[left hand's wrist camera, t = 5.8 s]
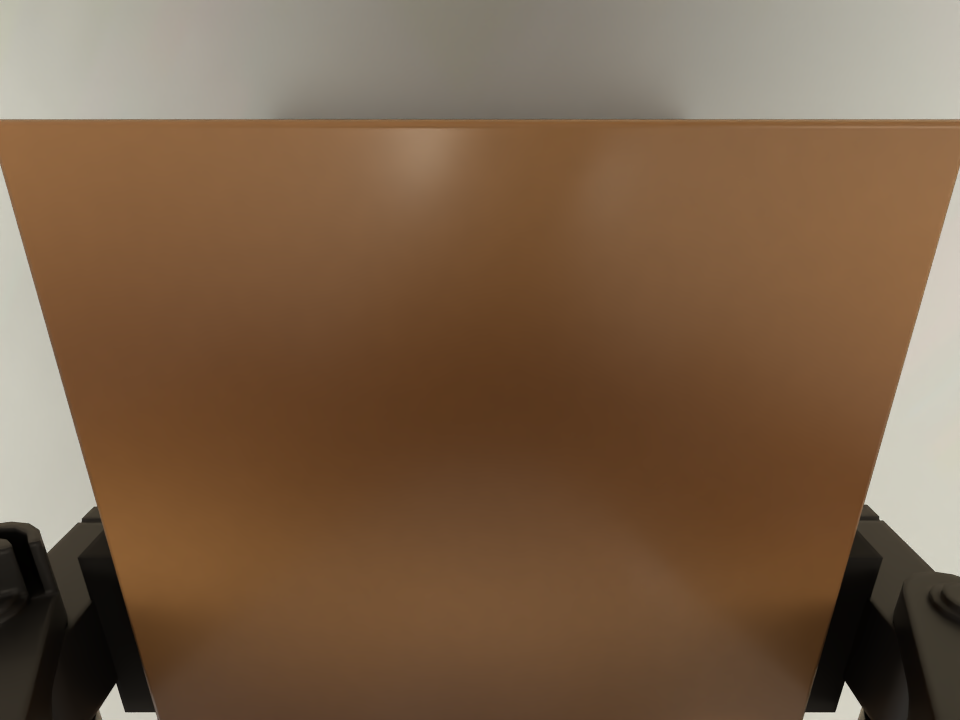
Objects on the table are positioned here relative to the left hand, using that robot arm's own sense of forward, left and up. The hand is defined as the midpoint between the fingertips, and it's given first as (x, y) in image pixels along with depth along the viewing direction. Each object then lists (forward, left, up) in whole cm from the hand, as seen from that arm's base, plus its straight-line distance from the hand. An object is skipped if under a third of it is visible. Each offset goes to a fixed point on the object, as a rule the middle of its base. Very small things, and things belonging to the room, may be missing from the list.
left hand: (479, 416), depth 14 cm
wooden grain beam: (+21, 0, 0) cm, 21 cm away
